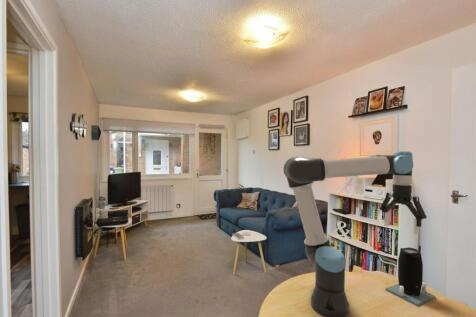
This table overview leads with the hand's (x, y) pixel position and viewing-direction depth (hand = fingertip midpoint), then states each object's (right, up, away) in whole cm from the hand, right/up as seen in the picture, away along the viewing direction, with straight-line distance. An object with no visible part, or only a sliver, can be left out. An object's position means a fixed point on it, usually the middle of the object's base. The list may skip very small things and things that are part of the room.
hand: (400, 229), depth 117 cm
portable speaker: (+3, -29, -2) cm, 29 cm away
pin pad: (+3, -29, -2) cm, 30 cm away
